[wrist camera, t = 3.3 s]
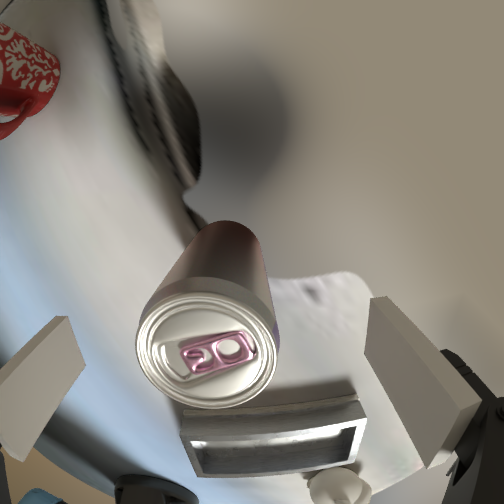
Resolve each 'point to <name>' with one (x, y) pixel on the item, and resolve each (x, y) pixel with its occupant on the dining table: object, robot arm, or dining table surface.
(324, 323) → the dining table surface
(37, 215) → the dining table surface
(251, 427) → the grey shallow rectangular tray
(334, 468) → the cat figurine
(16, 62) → the mug
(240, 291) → the beverage can
